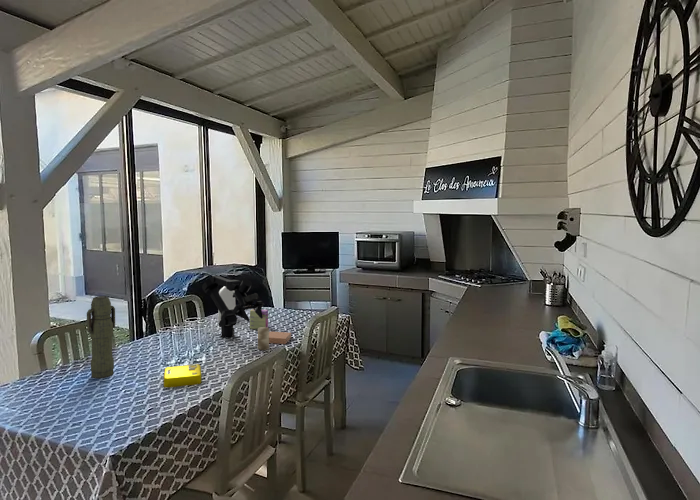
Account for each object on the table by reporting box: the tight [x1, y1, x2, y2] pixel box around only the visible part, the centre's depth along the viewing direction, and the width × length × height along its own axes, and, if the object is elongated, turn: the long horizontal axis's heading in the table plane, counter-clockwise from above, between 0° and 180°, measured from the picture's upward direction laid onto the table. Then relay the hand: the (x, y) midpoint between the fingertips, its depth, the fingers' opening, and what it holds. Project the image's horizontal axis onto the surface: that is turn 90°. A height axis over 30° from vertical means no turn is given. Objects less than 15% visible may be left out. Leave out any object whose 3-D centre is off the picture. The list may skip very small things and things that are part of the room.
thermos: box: [86, 295, 116, 380], centre depth 193 cm, size 9×12×35 cm
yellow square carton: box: [163, 363, 202, 389], centre depth 191 cm, size 15×15×5 cm
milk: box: [217, 286, 236, 322], centre depth 304 cm, size 12×12×26 cm
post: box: [257, 326, 270, 351], centre depth 238 cm, size 6×6×11 cm
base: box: [269, 331, 292, 345], centre depth 255 cm, size 13×13×3 cm
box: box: [249, 309, 269, 330], centre depth 280 cm, size 10×6×12 cm, turn 84°
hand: (255, 319), depth 243 cm, fingers open, 9 cm apart
